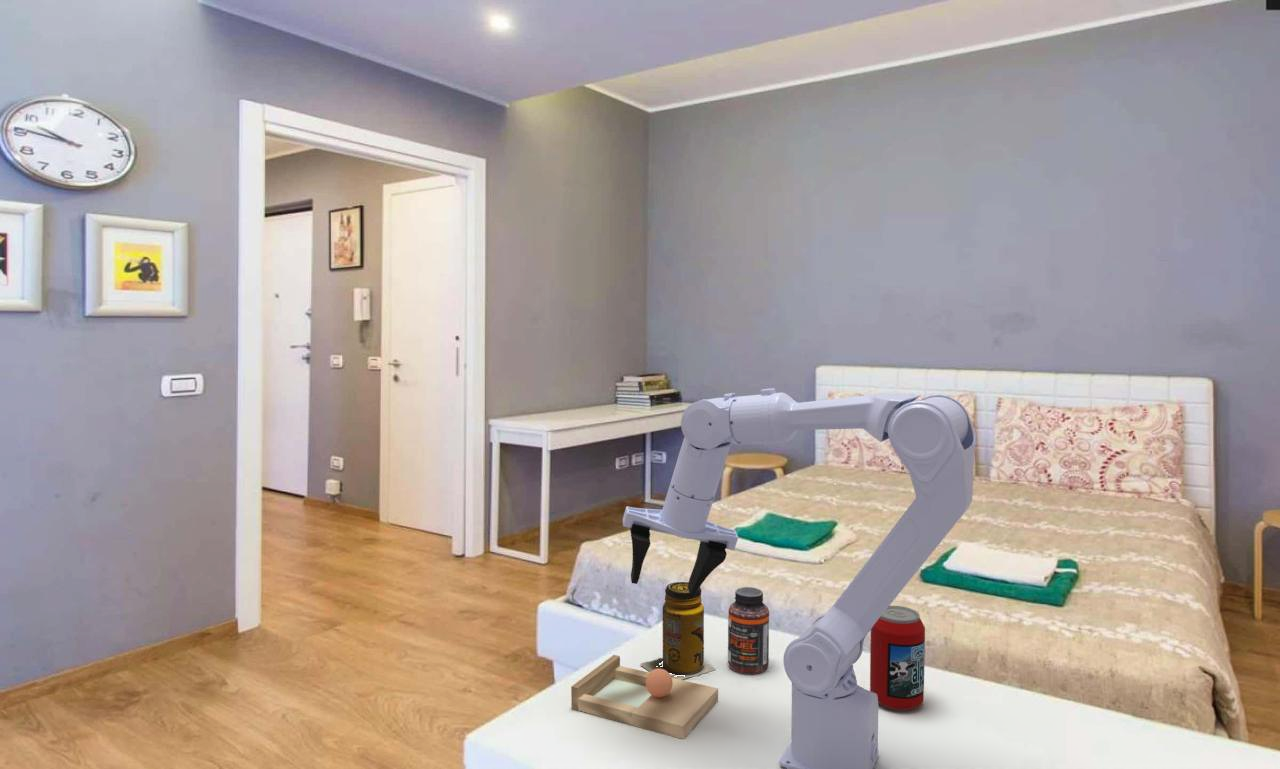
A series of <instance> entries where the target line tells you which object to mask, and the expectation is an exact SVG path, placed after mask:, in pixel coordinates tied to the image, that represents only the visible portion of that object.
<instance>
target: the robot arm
mask: <svg viewBox="0 0 1280 769" xmlns="http://www.w3.org/2000/svg"><path fill="white" fill-rule="evenodd" d="M921 396H922V394H911V393H909V394H908V393H877V394H875V393H874V394H867V395H857V396H849V397H847V396H846V397H839V398H831V399H830V398H829V399H824V400H823V399H822V400H811V401H803V402H798V401H796V400H794V399H793V398H792V397H791V396H790V395H788V394H787V393H785V392H776V388H773V387H772V388H764V389H760V394H753V395H752V394H751V395H741V396H737V395H736V393H735V392H730V393H725V394H724V395H723V397H715V398H707V399H705V398H704V399H701V400H698V401H695V402H693V403H691V404H689V405H688V406H687V407H686V408H685V410H684V411H683V414H682V416H681V420H680V421H681V422H680V427H681V432H682V434H683V436H684V437H683V440H682V444H681V447H680V451H679V453H678V457H677V460H676V463H675V466H674V469H673V474H672V477H671V479H670V484H669V487H668V489H667V493H666V497H665V499H664V503H663V506H662V509H656V508H655V509H654V508H642V507H641V508H640V507H639V508H638V507H632V506H626V507H625V510H624V513H623V515H622V516H623V517H622V527H624V528H627V529H628V528H629V530H630V537H631V546H632V548H631V549H632V565H631V570H630V581H631V583H632V584H635V585H637V584H638V582H639V580H640V576H641V573H642V567H643V564H644V561H645V558H646V555H647V553H648V551H649V549H650V547H651V540H650V539H651V538H650V537H651V532H650V531H653V532H659V533H662V534H667V535H671V536H676V537H678V538H681V539H687V540H694V541H698V542H699V546H698V551H697V554H696V555H697V556H696V559H695V562H694V566H693V568H692V571H691V573H690V577H689V579H688V582H689V583H688V590H689V594H690V595H692V596H695V594H696V592H697V591H698V589H699V587H700V588H701V586H702V585H703V583H704V582H705V580H706V579H707V578H708V576H709V575H710V574H711V573H712V572H713V571H714V570H715V569H717V568H718V567H719V566H720V565H721V564H723V563H724V561H725V560H726V558H727V551H726V550H730V551H735V549H736V545H737V542H738V539H739V536H738V533H737V531H736V529H731V528H727V527H725V526H722V525H719V524H716V523H714V522H711V521H708V519H709V515H710V512H711V510H712V509H711V508H712V506H713V503H714V499H715V496H716V494H717V489H718V487H719V483H720V480H721V478H722V475H723V471H724V468H725V465H726V461H727V458H728V455H729V451H730V448H731V447H732V444H735V445H739V446H740V445H756V444H757V445H758V444H760V445H761V444H774V443H775V444H777V443H779V444H780V443H781V444H782V443H788V442H789V441H791V440H792V439H793V437H795V436H796V434H797V433H798V432H799V431H808V430H809V431H812V430H813V431H814V430H817V431H818V430H821V431H822V430H851V429H852V430H853V429H855V430H856V429H859V430H860V429H861V430H864V431H866V433H868V434H869V435H870V436H872V437H873V438H874V439H876V441H878V442H880V443H881V442H882V443H883V442H885V441H887V440H889V443H890V445H891V447H892V449H893V451H894V452H895V454H896V456H897V457H898V458H899V460H900V462H901V463H902V465H903V466H904V468H906V470H907V471H908V473H909V476H910V480H911V483H912V487H913V490H914V493H915V498H914V499H913V501H912V502H911V504H910V505H909V507H907V509H906V510H905V512H904V513H903V514H902V515H901V516H900V518H899V520H897V522H896V523H895V525H894V526H893V527H892V528H891V530H890V531H889V532H888V533H887V535H886V536H885V538H883V540H882V541H881V542H880V544H879V545H878V547H877V548H876V549H875V551H874V552H873V553H872V554H871V556H870V557H868V560H867V561H866V562H865V563H864V565H863V566H862V567H861V569H859V570H858V572H857V574H856V575H855V576H854V578H853V579H852V580H851V581H850V583H849V584H848V586H847V587H846V588H845V589H844V591H843V592H842V593H841V594H840V596H839V597H838V598H837V599H836V601H835V602H834V603H833V605H832V606H831V607H830V609H828V611H827V612H826V613H825V614H822V615H821V616H819V617H818V618H816V620H814V621H813V623H812V625H811V626H810V627H808V628H807V629H806V631H804V632H803V633H802V634H801V635H800V636H798V638H796V639H793V640H792V641H791V642H790V643H789V644H788V645H787V646H786V648H785V650H784V653H783V658H782V660H783V662H782V663H783V669H784V671H785V673H786V676H787V678H788V679H789V680H790V682H791V720H790V721H791V722H790V723H791V726H790V727H791V731H790V733H791V736H790V738H791V739H790V740H791V742H790V744H789V745H788V747H787V748H786V750H785V751H784V753H783V755H782V756H781V758H780V759H779V766H781V767H783V768H787V769H874V767H875V764H876V762H877V760H878V757H879V753H880V752H879V749H878V748H879V745H878V744H879V702H878V697H877V694H876V693H874V692H871V691H870V690H868V689H866V688H864V687H862V686H860V685H858V681H857V677H856V673H855V670H854V664H856V663H857V662H858V660H859V659H860V657H862V654H863V651H864V650H863V649H864V643H865V638H866V637H867V635H868V633H869V632H871V629H872V627H873V626H874V624H875V623H876V622H877V620H878V619H879V618H880V617H881V615H882V614H883V613H884V612H885V611H886V609H887V608H888V607H889V606H891V605H892V603H893V602H894V601H895V600H896V598H897V597H898V596H899V594H900V593H901V592H902V591H903V590H904V589H905V587H906V586H907V584H908V583H909V582H910V581H911V580H912V579H913V577H914V576H915V574H917V572H918V571H919V570H920V569H921V567H922V566H923V565H924V564H925V562H927V560H928V559H929V558H930V556H931V555H932V554H933V553H934V551H935V550H936V549H937V547H939V545H941V542H943V541H944V539H945V538H946V537H947V535H948V534H949V533H950V532H951V531H952V529H953V528H954V526H956V524H957V523H958V522H959V520H960V519H961V518H962V517H963V515H964V514H965V513H966V512H967V510H968V509H969V508H970V506H971V504H972V501H973V493H974V492H973V489H974V488H973V487H974V466H975V465H974V464H975V450H976V445H977V440H978V438H977V434H976V431H975V428H974V426H973V422H972V420H971V417H970V415H969V412H968V410H967V409H966V407H965V406H964V405H963V404H962V402H960V401H958V399H956V398H954V397H952V396H949V395H945V394H933V395H930V396H926V397H924V398H922V399H920V400H917V399H918V398H920V397H921Z"/></svg>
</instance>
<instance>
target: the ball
mask: <svg viewBox="0 0 1280 769" xmlns="http://www.w3.org/2000/svg"><path fill="white" fill-rule="evenodd" d="M671 676H672V675H670V674H669V673H668V672H667V671H666V670H664V669H654V670H652V671H651V672H650V671H649V674H648V676H647V678H646V688H647V690H648V692H649V693H650V694H651V695H652V696H654V697H664V696H666V695H667V694H668V693H669V692H670V691H671V689H672V685H673V682H672V677H671Z"/></svg>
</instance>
